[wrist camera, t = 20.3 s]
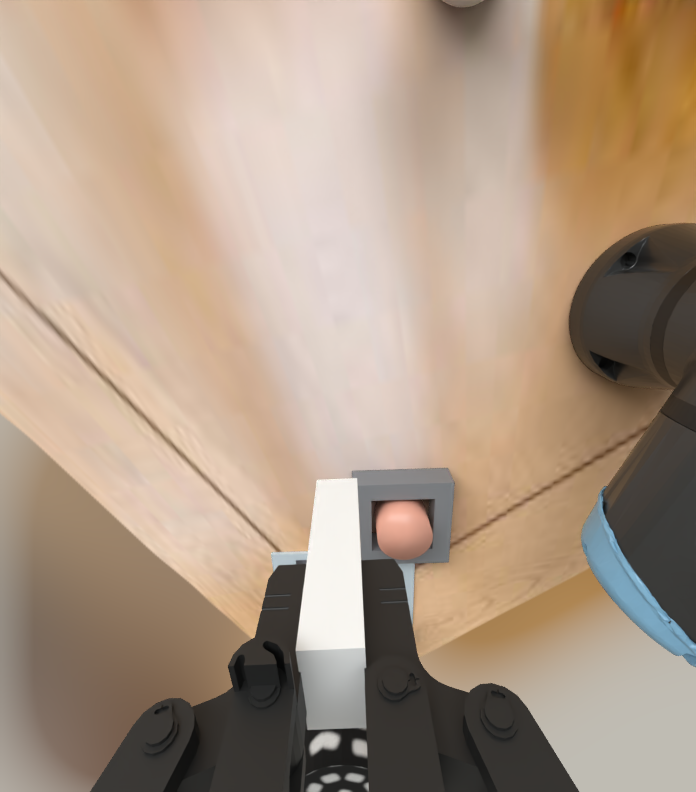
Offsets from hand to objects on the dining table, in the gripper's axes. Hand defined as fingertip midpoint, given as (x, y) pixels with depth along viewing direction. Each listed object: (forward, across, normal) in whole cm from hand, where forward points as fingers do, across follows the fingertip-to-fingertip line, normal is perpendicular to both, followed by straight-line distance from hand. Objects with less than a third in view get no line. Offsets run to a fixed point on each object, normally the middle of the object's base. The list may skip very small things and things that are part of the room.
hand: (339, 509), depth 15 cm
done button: (+26, +5, -20) cm, 33 cm away
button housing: (+26, +6, -20) cm, 34 cm away
